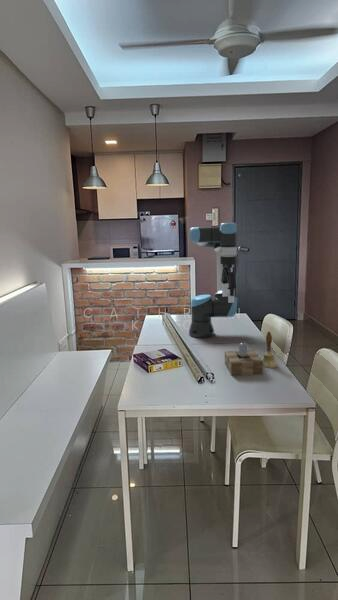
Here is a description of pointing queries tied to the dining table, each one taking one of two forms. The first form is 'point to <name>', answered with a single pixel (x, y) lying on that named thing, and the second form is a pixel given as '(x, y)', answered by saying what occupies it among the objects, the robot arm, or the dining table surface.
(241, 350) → the peg
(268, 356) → the hand bell
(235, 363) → the socket
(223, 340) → the dining table surface
